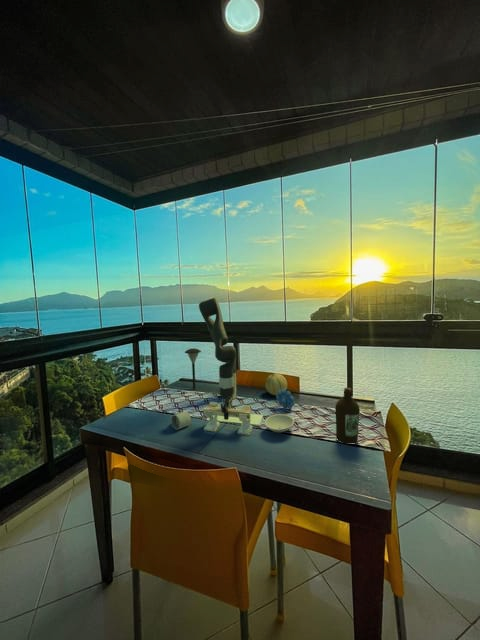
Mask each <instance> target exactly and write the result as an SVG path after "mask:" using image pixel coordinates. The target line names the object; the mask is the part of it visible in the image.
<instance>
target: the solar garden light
mask: <svg viewBox="0 0 480 640" xmlns="http://www.w3.org/2000/svg"><path fill="white" fill-rule="evenodd" d="M201 352H202V350H200V349H198V348H196V347H194V348H188V349H187V350H185V351H184V353H185V354H187V355H188V357H189V360H190V362H191V369H192V370H191V371H192V372H191V373H192V390H193V391H196V370H195V369H196V366H195V363H196V361H197V357H198V355H199V354H200V353H201Z"/></svg>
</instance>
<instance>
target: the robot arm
mask: <svg viewBox="0 0 480 640" xmlns="http://www.w3.org/2000/svg"><path fill="white" fill-rule="evenodd" d="M198 309H199V312H200V314H201V316H202V318H203V320H204V322H205V324H206V326H207V328H208V332H209V335H210V336H211V339H212V341H213V344H214V346H215V347H214V348H215V349H214V350H215V352H214V356H215V359H216V360H217V361H219V362H221V363H222V364H220V365H219V368H218V370H219V371H218V372H219V373H218V375H219V378H218V392H219V395H220V396H221V397H222V399H221V402H222V403H221V402H220V408H221V410H222V413H224V419H225V420H228V419H229V416H228V412H229V411H228V410H229V409H232V407H233V400H235V399H237V349H236V348H235V347H234V345H227V344H228V343H229V337H228V335H227V332H226V329H225V325H224V321H223V315H222V311H221V307H220V304H219V302H218V300H217V299H216V298H214V297H213V298H209V299H206V300H203V301H201V302H199V303H198ZM214 315H215V319H212V318H211V317H212V316H214Z"/></svg>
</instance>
